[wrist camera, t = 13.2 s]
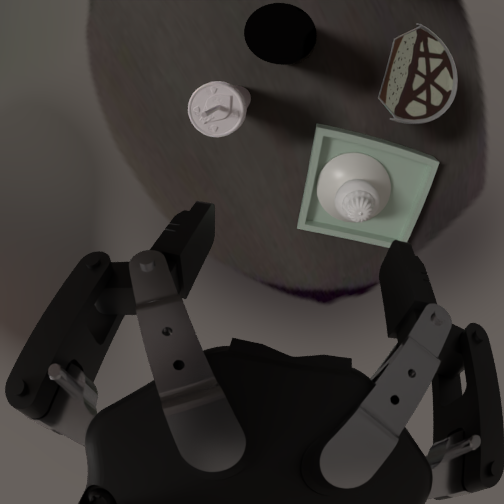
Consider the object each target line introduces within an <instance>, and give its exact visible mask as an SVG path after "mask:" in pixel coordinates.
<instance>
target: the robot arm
mask: <svg viewBox="0 0 504 504" xmlns="http://www.w3.org/2000/svg"><path fill="white" fill-rule="evenodd" d="M214 236H215V206H214V204H213V203H207V202H200V201H197V202H196V203H195V204H194V205H193V207H192V208H191V210H190V211H186V210H184V211H182V212H180V213H179V214H177V215H176V216H175V217H174V218H173V219H172V220H171V222H170V224H169V225H168V226H167V227H166V228H165V230H164V231H163V233H162V234H161V235H160V237H159V238H158V239H157V241H156V242H155V243H154V245H153V246H152V248H151V249H150V250H146V251H142V252H139V253H138V254H136V255H135V256H133V257H132V259H131V260H130V262H111V260H110V258H109V256H108V254H106V253H104V252H93V253H90V254H88V255H86V256H85V257H83V258H82V259H81V260H80V262H79V263H78V264H77V266H76V267H75V268H74V270H73V271H72V272H71V274H70V275H69V277H68V278H67V279H66V281H65V282H64V284H63V285H62V287H61V288H60V289H59V291H58V292H57V294H56V295H55V297H54V298H53V300H52V301H51V303H50V304H49V306H48V307H47V309H46V311H45V312H44V314H43V315H42V317H41V319H40V320H39V322H38V323H37V325H36V327H35V329H34V330H33V332H32V334H31V335H30V337H29V339H28V341H27V343H26V344H25V346H24V348H23V350H22V351H21V353H20V355H19V357H18V359H17V361H16V363H15V365H14V367H13V369H12V371H11V373H10V375H9V377H8V379H7V382H6V387H5V393H6V397H7V400H8V402H9V403H10V404H11V406H13V407H14V408H15V409H17V410H19V411H20V412H22V413H23V414H25V416H27V417H28V418H30V419H31V420H33V421H34V422H36V423H38V424H40V425H41V426H43V427H45V428H47V429H50V430H52V431H54V432H56V433H58V434H61V435H64V436H66V437H68V438H70V439H72V440H74V441H75V442H77V443H79V444H81V445H83V446H85V449H86V455H87V464H88V478H87V485H86V489H85V491H84V494H83V495H82V497H81V499H80V501H79V503H78V504H425V502H426V500H427V499H432V498H434V499H436V500H441V499H447V498H452V497H457V496H461V495H465V494H469V493H473V492H477V491H480V490H483V489H487V488H490V487H493V486H494V485H496V484H497V482H498V481H499V480H500V478H501V476H502V473H503V470H504V429H503V416H502V407H501V398H500V391H499V385H498V379H497V373H496V369H495V363H494V359H493V354H492V350H491V346H490V343H489V338H488V336H487V333H486V332H485V330H484V329H483V328H482V327H481V326H480V325H478V324H476V323H470V324H469V325H468V326H467V327H466V328H465V330H464V329H462V328H460V327H458V326H455V325H454V324H452V320H451V317H450V315H449V313H448V312H447V311H446V310H445V309H444V308H443V307H441V306H440V305H438V304H437V303H436V299H435V296H434V293H433V290H432V287H431V284H430V282H429V278H428V275H427V272H426V269H425V267H424V264H423V263H422V262H421V260H420V259H419V258H418V256H415V254H414V252H413V249H412V246H411V244H410V243H407V242H403V241H399V240H394V241H393V242H392V244H391V246H390V248H389V250H388V252H387V255H386V257H385V259H384V261H383V263H382V265H381V268H380V272H379V280H380V286H381V292H382V298H383V303H384V311H385V318H386V325H387V333H388V337H389V338H397V339H398V343H397V344H396V345H395V346H394V348H393V349H392V351H391V352H390V353H389V355H388V356H387V358H386V359H385V360H384V362H383V363H382V364H381V366H380V367H379V368H378V370H377V371H376V372H375V374H374V375H373V376H372V377H371V378H369V377H367V376H366V375H365V374H363V373H362V372H360V371H358V370H357V369H355V368H352V359H351V358H344V357H336V356H329V355H316V356H302V357H292V356H289V355H286V354H284V353H282V352H279V351H277V350H275V349H272V348H270V347H268V346H266V345H263V344H259V343H254V342H250V341H245V340H240V339H236V338H232V341H231V344H230V346H221V347H215V348H211V349H207V350H204V351H203V350H202V347H201V345H200V342H199V340H198V338H197V335H196V333H195V330H194V328H193V326H192V323H191V321H190V318H189V315H188V313H187V310H186V308H185V305H184V303H183V300H182V298H184V299H186V298H187V296H188V294H189V292H190V290H191V288H192V286H193V284H194V282H195V279H196V277H197V275H198V273H199V271H200V269H201V267H202V265H203V263H204V261H205V259H206V257H207V255H208V253H209V251H210V249H211V247H212V244H213V241H214ZM125 315H137V318H138V322H139V326H140V330H141V334H142V338H143V342H144V346H145V350H146V353H147V357H148V361H149V364H150V367H151V371H152V374H153V377H154V380H153V381H152V382H150V383H148V384H147V385H145V386H143V387H142V388H140V389H138V390H137V391H135V392H133V393H132V394H130V395H128V396H126V397H124V398H122V399H121V400H119V401H117V402H116V403H114V404H112V405H110V406H108V407H106V408H105V409H103V410H101V411H100V412H99V413H98V414H97V410H96V404H97V399H98V391H97V388H96V386H95V384H94V383H93V382H94V380H95V377H96V375H97V373H98V370H99V368H100V366H101V364H102V361H103V359H104V357H105V355H106V353H107V351H108V348H109V346H110V344H111V342H112V340H113V337H114V336H115V334H116V331H117V330H118V328H119V325H120V323H121V321H122V319H123V317H124V316H125ZM463 370H465V375H466V382H467V386H466V390H465V392H464V394H463V395H462V389H461V380H460V373H461V372H462V371H463ZM431 381H432V392H433V421H434V423H433V425H434V426H433V429H434V430H433V445H432V447H431V448H430V450H429V453H428V455H427V456H424V454H423V453H422V451H421V450H420V448H419V447H418V445H417V444H416V442H415V441H414V439H413V438H412V436H411V435H410V433H409V432H408V430H407V429H406V428H405V426H406V424H407V422H408V421H409V419H410V418H411V416H412V415H413V413H414V411H415V410H416V408H417V406H418V404H419V403H420V401H421V399H422V397H423V396H424V394H425V392H426V390H427V389H428V387H429V385H430V383H431Z"/></svg>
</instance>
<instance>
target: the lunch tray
mask: <svg viewBox="0 0 504 504" xmlns="http://www.w3.org/2000/svg"><path fill="white" fill-rule="evenodd" d="M438 165H439V161H438V160H437V159H436V158H435V157H434V156H432V155H429V154H426V153H423V152H421V151H418V150H415V149H412V148H409V147H406V146H403V145H400V144H397V143H393V142H390V141H387V140H384V139H380V138H377V137H373V136H369V135H366V134H362V133H358V132H354V131H350V130H346V129H342V128H337V127H333V126H328V125H323V124H318V123H316V129H315V135H314V140H313V146H312V151H311V157H310V162H309V168H308V173H307V178H306V183H305V189H304V194H303V199H302V204H301V208H300V213H299V218H298V225H297V229H302V230H307V231H312V232H317V233H322V234H327V235H332V236H337V237H342V238H346V239H351V240H356V241H361V242H365V243H370V244H374V245H379V246H383V247H388V248H390V246H391V244H392V242H393V241H394V240H399V241H403V242H407V241H408V239H409V237H410V235H411V232H412V230H413V228H414V226H415V224H416V221H417V219H418V217H419V214H420V212H421V210H422V207H423V205H424V202H425V200H426V197H427V195H428V192H429V190H430V187H431V185H432V182H433V179H434V177H435V174H436V171H437V168H438ZM351 179H352V180H353V179H363V180H366V181H367V182H369V183H371V184H372V185H373V186H374V187H375V188H376V190H377V192H378V194H379V197H380V204H379V208H378V210H377V212H376V213H375V214H374V215H373V216H372V217H371V218H369V219H367V221H363V222H362V223H361V222H352V221H349V220H347V219H345V218H343V217H342V216H341V215H340V214H339V213H338V211H337V209H336V207H335V202H334V199H335V195H336V193H337V191H338V189H339V188H340V187H341V185H343V184H344V182H347V180H351Z"/></svg>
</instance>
